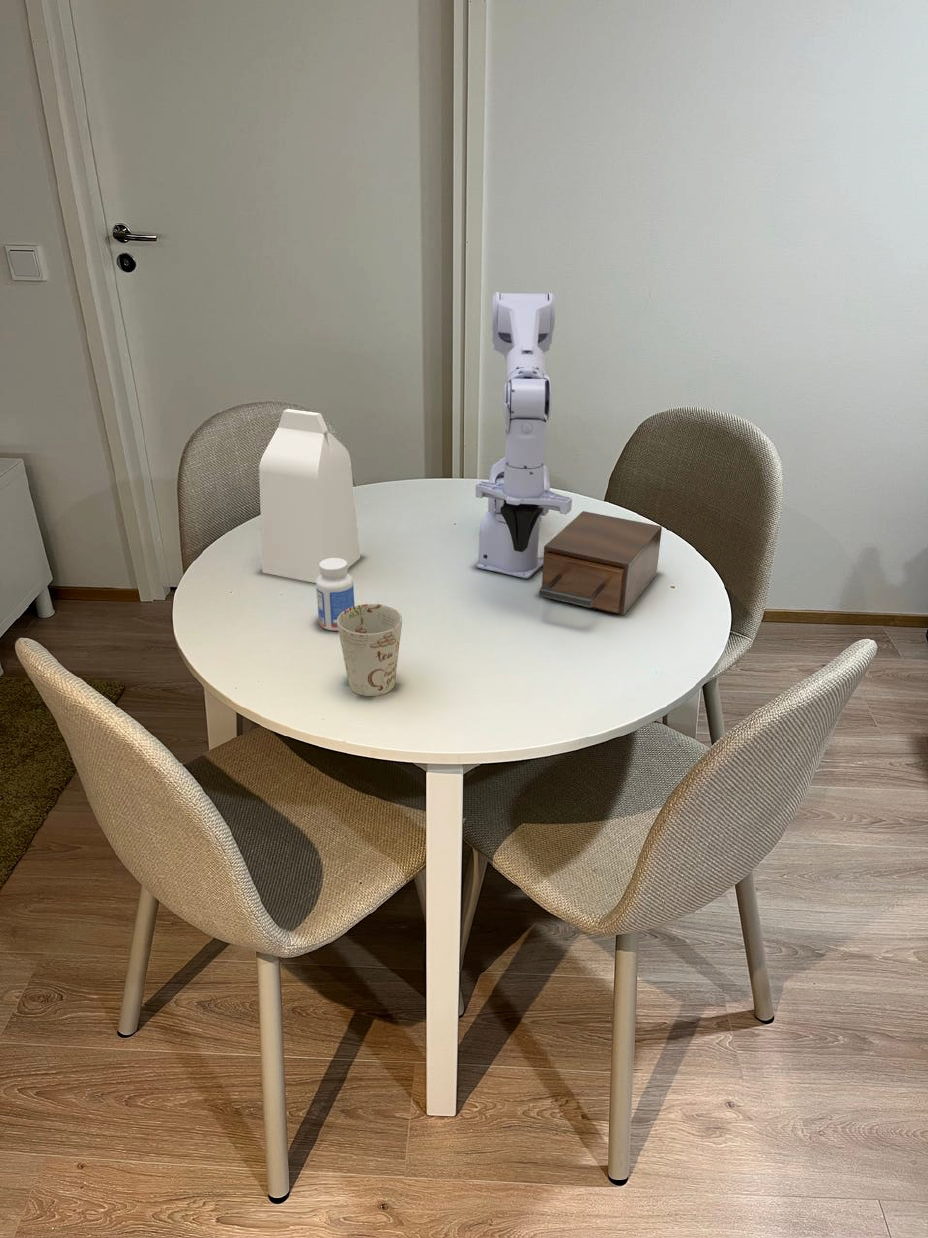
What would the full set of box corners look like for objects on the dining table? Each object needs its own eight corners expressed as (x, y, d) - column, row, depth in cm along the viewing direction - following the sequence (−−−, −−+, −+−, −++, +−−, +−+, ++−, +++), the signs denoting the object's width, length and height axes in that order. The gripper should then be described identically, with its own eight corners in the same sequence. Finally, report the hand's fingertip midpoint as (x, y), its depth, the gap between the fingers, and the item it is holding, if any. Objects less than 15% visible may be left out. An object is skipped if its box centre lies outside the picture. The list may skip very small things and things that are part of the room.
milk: (262, 572, 161) (248, 417, 149) (298, 546, 170) (287, 398, 158) (327, 585, 157) (317, 426, 145) (360, 557, 166) (354, 407, 154)
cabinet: (623, 615, 149) (628, 564, 145) (541, 596, 154) (543, 546, 150) (656, 574, 162) (662, 526, 158) (579, 557, 167) (583, 510, 163)
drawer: (602, 631, 142) (605, 589, 139) (524, 612, 147) (526, 571, 144) (649, 573, 160) (653, 535, 157) (578, 558, 165) (581, 521, 162)
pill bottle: (361, 618, 147) (359, 558, 143) (346, 634, 143) (343, 573, 138) (328, 612, 149) (324, 553, 144) (312, 628, 144) (308, 567, 140)
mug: (354, 707, 126) (351, 639, 121) (320, 662, 135) (316, 598, 131) (413, 692, 129) (412, 625, 124) (376, 649, 139) (374, 586, 134)
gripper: (466, 462, 140) (465, 549, 147) (561, 479, 135) (555, 568, 141) (488, 448, 146) (486, 532, 152) (579, 464, 140) (573, 551, 146)
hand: (520, 549), depth 147 cm, fingers closed
